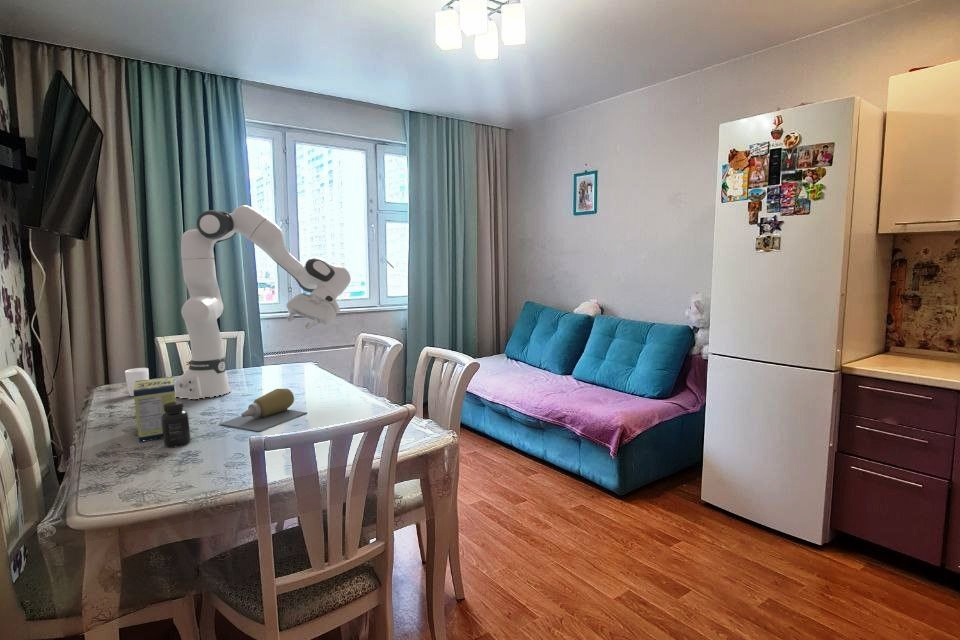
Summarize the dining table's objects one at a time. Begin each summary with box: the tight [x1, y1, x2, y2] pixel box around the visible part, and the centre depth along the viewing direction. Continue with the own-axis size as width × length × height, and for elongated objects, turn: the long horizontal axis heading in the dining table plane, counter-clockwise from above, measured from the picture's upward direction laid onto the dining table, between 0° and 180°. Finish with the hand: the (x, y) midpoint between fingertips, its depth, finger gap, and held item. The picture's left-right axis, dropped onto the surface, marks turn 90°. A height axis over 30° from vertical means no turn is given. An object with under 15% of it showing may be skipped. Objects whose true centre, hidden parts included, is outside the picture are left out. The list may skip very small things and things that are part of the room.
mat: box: [218, 408, 308, 433], centre depth 173 cm, size 20×18×1 cm
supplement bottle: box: [161, 400, 192, 448], centre depth 151 cm, size 7×7×12 cm
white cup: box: [124, 367, 150, 395], centre depth 208 cm, size 8×8×10 cm
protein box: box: [133, 376, 177, 442], centre depth 162 cm, size 10×16×16 cm
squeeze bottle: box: [241, 388, 295, 418], centre depth 175 cm, size 8×8×18 cm
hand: (297, 324), depth 198 cm, fingers open, 8 cm apart
